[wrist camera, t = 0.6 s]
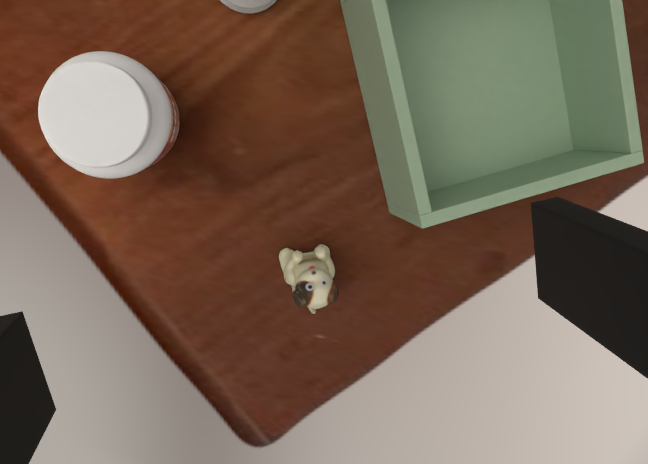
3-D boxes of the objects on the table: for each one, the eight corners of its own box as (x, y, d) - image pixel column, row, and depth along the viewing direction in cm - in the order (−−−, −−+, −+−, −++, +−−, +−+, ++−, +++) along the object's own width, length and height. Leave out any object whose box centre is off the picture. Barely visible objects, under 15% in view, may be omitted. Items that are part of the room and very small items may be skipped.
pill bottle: (197, 143, 38) (192, 149, 27) (108, 186, 37) (66, 209, 27) (150, 50, 36) (124, 17, 26) (56, 93, 36) (-11, 79, 25)
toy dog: (331, 239, 41) (347, 254, 36) (324, 308, 41) (340, 332, 37) (280, 236, 40) (289, 251, 35) (274, 307, 41) (283, 331, 36)
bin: (338, -7, 38) (363, -34, 32) (546, -56, 40) (610, -91, 33) (389, 213, 41) (422, 229, 35) (580, 157, 43) (644, 162, 37)
